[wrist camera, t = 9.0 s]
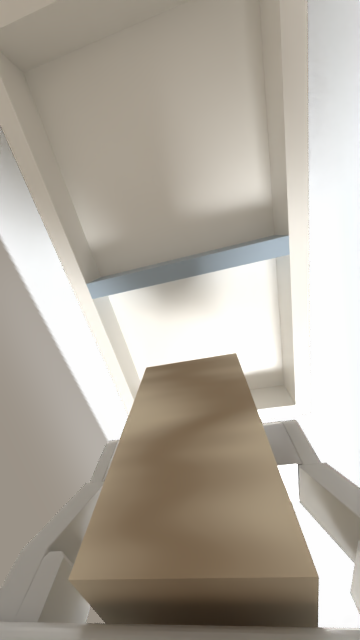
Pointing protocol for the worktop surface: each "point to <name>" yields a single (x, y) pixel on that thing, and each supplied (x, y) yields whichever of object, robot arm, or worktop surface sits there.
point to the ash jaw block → (196, 512)
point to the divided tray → (172, 177)
